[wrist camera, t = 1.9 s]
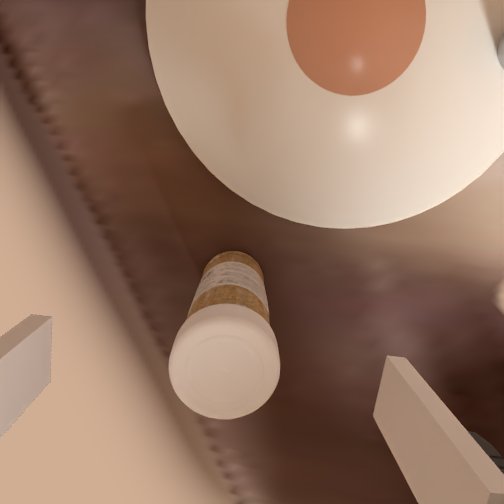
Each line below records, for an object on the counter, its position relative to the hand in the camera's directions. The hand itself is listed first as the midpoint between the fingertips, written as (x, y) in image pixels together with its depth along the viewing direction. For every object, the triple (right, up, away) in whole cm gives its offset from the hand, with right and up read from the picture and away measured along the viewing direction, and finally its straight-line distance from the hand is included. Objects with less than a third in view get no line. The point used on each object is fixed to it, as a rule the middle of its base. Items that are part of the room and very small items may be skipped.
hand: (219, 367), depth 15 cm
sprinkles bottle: (0, +3, +13) cm, 14 cm away
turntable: (+7, +18, +10) cm, 22 cm away
